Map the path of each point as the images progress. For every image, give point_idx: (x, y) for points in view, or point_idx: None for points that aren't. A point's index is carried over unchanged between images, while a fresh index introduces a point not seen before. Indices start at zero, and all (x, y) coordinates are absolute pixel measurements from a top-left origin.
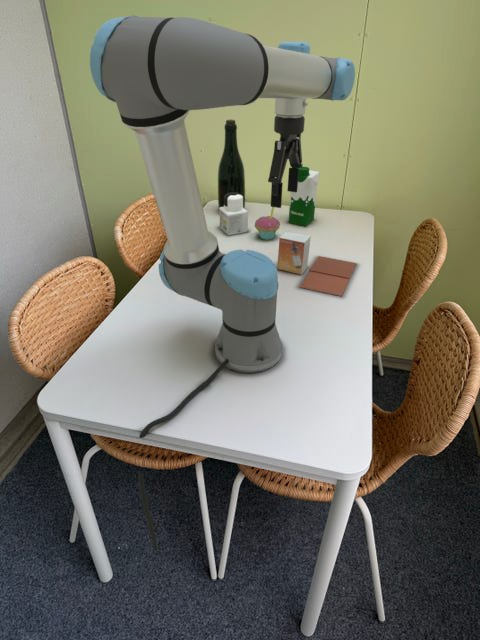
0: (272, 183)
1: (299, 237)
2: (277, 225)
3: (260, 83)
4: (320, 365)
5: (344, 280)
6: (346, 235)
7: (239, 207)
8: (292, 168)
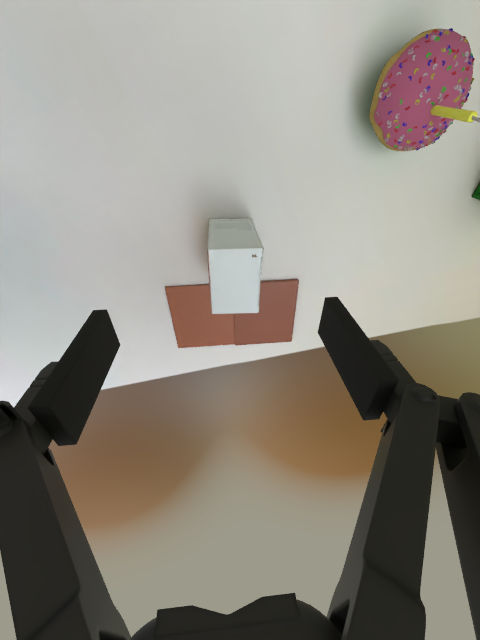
0: (35, 403)
1: (234, 295)
2: (400, 148)
3: None
4: (7, 367)
5: (226, 339)
6: (416, 296)
7: None
8: (376, 397)
